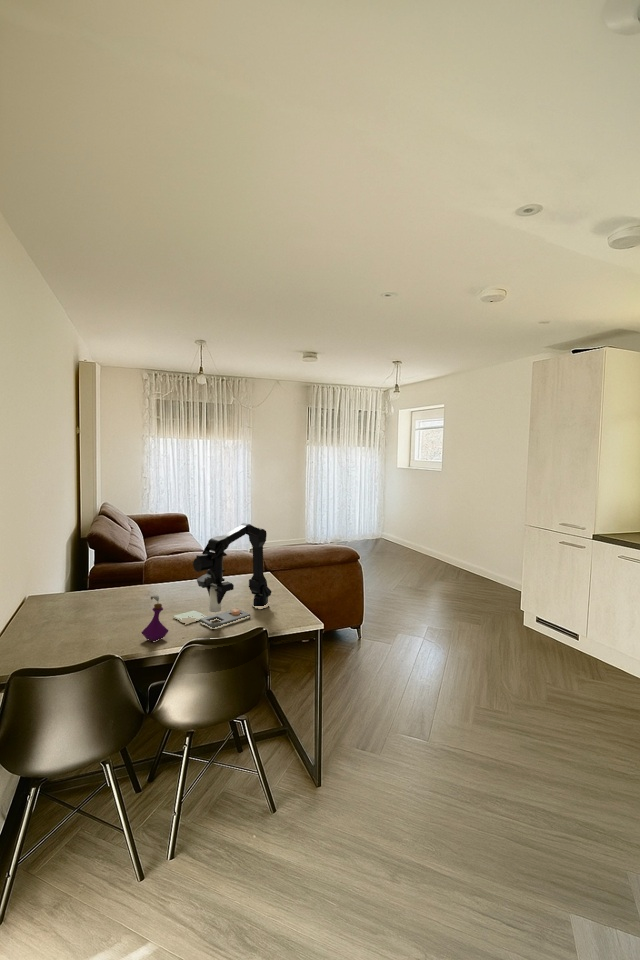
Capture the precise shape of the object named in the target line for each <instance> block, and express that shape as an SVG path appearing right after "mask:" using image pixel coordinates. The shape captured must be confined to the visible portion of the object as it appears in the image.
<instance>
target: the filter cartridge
mask: <svg viewBox="0 0 640 960" xmlns="http://www.w3.org/2000/svg"><path fill="white" fill-rule="evenodd" d="M216 589H217V586H216V585H211V587H210V597H209V605H208V606H209V612H211V613H219V612H221V611H222V602H221V603H220V604H218V602H217V592H216V591H215V590H216Z"/></svg>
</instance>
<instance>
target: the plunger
mask: <svg viewBox="0 0 640 960" xmlns="http://www.w3.org/2000/svg"><path fill="white" fill-rule="evenodd" d="M233 609H234V610H233ZM233 609H230V610H231V615H233V616H237V615H240V610H241V609H240V610H239V608H233Z"/></svg>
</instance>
